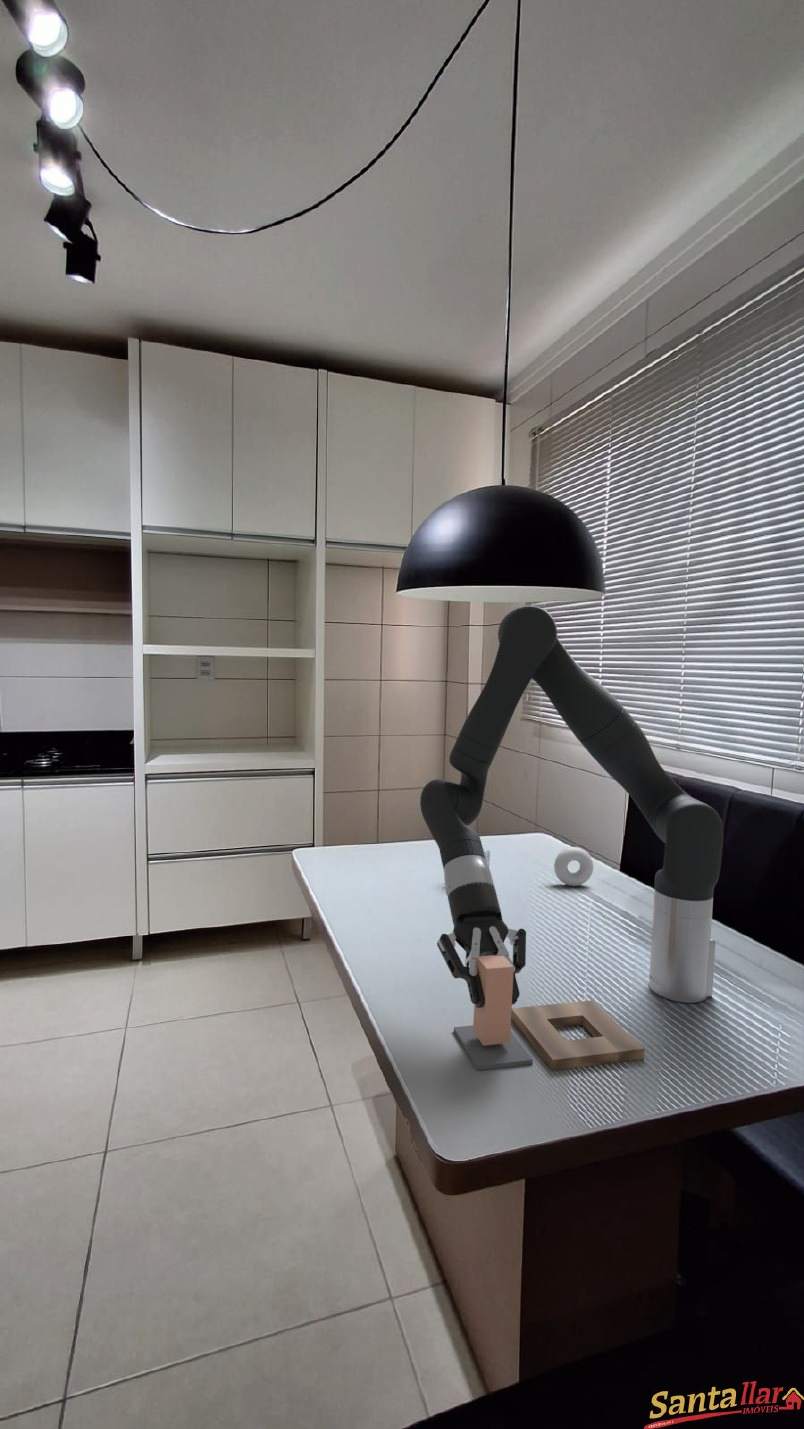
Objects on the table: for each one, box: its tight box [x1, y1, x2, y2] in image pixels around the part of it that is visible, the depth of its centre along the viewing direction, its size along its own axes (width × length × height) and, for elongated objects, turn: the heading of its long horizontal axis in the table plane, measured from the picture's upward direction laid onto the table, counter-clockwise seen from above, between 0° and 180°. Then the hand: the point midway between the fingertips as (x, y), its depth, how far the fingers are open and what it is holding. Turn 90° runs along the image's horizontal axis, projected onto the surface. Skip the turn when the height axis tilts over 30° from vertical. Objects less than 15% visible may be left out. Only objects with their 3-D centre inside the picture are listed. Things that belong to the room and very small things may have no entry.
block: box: [472, 955, 514, 1046], centre depth 95 cm, size 4×4×11 cm
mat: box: [453, 1024, 534, 1072], centre depth 95 cm, size 8×10×1 cm
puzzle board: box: [511, 999, 645, 1072], centre depth 98 cm, size 14×14×2 cm
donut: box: [553, 846, 594, 887], centre depth 170 cm, size 10×3×10 cm, turn 92°
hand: (497, 1003), depth 94 cm, fingers open, 4 cm apart
